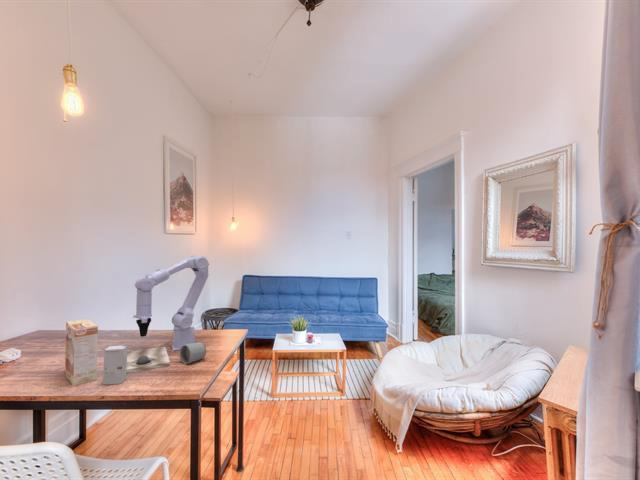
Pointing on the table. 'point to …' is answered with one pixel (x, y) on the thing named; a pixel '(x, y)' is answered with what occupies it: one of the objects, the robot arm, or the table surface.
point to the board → (155, 356)
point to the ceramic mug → (192, 352)
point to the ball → (142, 360)
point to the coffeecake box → (81, 351)
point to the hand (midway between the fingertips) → (143, 335)
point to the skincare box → (115, 364)
